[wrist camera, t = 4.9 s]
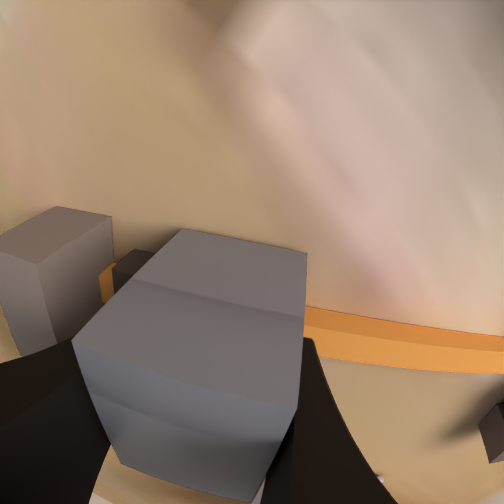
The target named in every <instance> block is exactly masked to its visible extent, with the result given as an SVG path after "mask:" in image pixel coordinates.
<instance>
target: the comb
mask: <svg viewBox="0 0 504 504" xmlns="http://www.w3.org/2000/svg"><path fill="white" fill-rule="evenodd" d="M478 426H479V429H480V432H481V436H482V439H483V442H484V446H485V449H486V453H487V456H488V460H489V464H490V463H495V462H499V461H503V460H504V403H502V404H496V406H495V407H494V408H493V409H492V410H491V411H490V413H489V414H488V415H487V416H486V417H485V418H484V419H483V420H482V421H481V423H480V424H479V425H478Z"/></svg>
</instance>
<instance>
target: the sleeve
mask: <svg viewBox="0 0 504 504" xmlns="http://www.w3.org/2000/svg"><path fill="white" fill-rule="evenodd" d="M306 277H307V253H304V252H299V251H294V250H289V249H284V248H279V247H274V246H269V245H264V244H259V243H254V242H249V241H244V240H239V239H234V238H229V237H224V236H219V235H214V234H208V233H203V232H198V231H193V230H188V229H181V230H180V231H179V232H178V233H177V234H176V235H175V236H174V237H173V238H172V239H171V240H170V241H169V242H168V243H167V244H165V245H164V246H163V247H162V248H161V249H160V250H159V251H158V252H157V253H156V254H155V255H154V256H153V257H152V258H151V259H150V260H149V261H148V262H147V263H146V264H145V265H144V266H143V267H142V268H141V269H140V270H139V271H138V272H137V273H136V274H135V275H134V276H133V277H132V278H131V279H130V280H129V281H128V282H127V283H126V284H125V285H124V286H123V287H122V288H121V289H120V290H119V291H118V292H117V293H116V294H115V295H114V296H113V297H112V298H111V299H110V300H109V301H108V302H107V303H106V304H105V305H104V306H103V307H102V308H101V309H100V310H99V311H98V312H97V313H96V314H95V315H94V317H93V318H92V319H91V320H90V321H89V322H88V323H87V324H86V325H85V326H84V327H83V328H82V329H81V330H80V332H79V333H78V334H77V335H76V336H75V337H74V338H73V339H72V340H71V341H72V345H73V348H74V351H75V354H76V357H77V361H78V364H79V367H80V369H81V372H82V375H83V378H84V381H85V384H86V386H87V389H88V392H89V394H90V397H91V399H92V402H93V404H94V407H95V409H96V411H97V414H98V416H99V418H100V421H101V423H102V425H103V428H104V430H105V432H106V434H107V436H108V438H109V440H110V442H111V445H112V447H113V449H114V451H115V453H116V455H117V457H118V458H119V460H120V462H121V464H123V465H126V466H128V467H130V468H133V469H135V470H138V471H140V472H143V473H145V474H148V475H151V476H153V477H156V478H159V479H162V480H165V481H168V482H171V483H174V484H177V485H180V486H183V487H186V488H190V489H193V490H197V491H200V492H204V493H208V494H212V495H216V496H220V497H224V498H229V499H234V500H238V501H243V502H249V503H251V501H252V499H253V497H254V495H255V493H256V492H257V490H258V488H259V486H260V484H261V482H262V480H263V478H264V477H265V475H266V473H267V471H268V469H269V467H270V465H271V463H272V461H273V459H274V457H275V455H276V453H277V451H278V449H279V447H280V444H281V442H282V440H283V438H284V436H285V434H286V432H287V429H288V427H289V425H290V423H291V421H292V418H293V416H294V414H295V412H296V409H297V405H298V395H299V384H300V372H301V360H302V347H303V333H304V317H305V299H306Z"/></svg>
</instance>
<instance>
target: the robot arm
mask: <svg viewBox="0 0 504 504" xmlns="http://www.w3.org/2000/svg"><path fill="white" fill-rule="evenodd" d="M76 335H77V334H76ZM76 335H74V336H72V337H70V338H68V339H66V340H64V341H62V342H60V343H58V344H55V345H53V346H51V347H48V348H46V349H43V350H41V351H38V352H36V353H33V354H30V355H27V356H24V357H21V358H18V359H14V360H11V361H7V362H4V363H0V504H89V500H90V497H91V494H92V491H93V488H94V485H95V482H96V480H97V477H98V474H99V472H100V469H101V467H102V464H103V461H104V459H105V457H106V454H107V452H108V450H109V447H110V445H111V442H110V440H109V438H108V436H107V434H106V432H105V430H104V428H103V425H102V423H101V421H100V418H99V416H98V414H97V411H96V409H95V407H94V404H93V402H92V399H91V397H90V394H89V392H88V389H87V386H86V384H85V381H84V378H83V375H82V372H81V369H80V367H79V364H78V361H77V357H76V354H75V351H74V348H73V345H72V341H71V340H72V339H73V338H74V337H75V336H76ZM383 482H384V478H383V477H382V476H376V475H375V473H374V472H373V470H372V469H371V467H370V466H369V464H368V463H367V461H366V460H365V458H364V456H363V455H362V453H361V452H360V450H359V448H358V446H357V445H356V443H355V441H354V439H353V438H352V436H351V434H350V432H349V430H348V428H347V426H346V424H345V422H344V420H343V418H342V416H341V414H340V412H339V409H338V407H337V405H336V403H335V400H334V398H333V395H332V393H331V390H330V388H329V385H328V383H327V380H326V378H325V375H324V372H323V369H322V366H321V363H320V360H319V357H318V354H317V350H316V346H315V342H314V341H313V339H312V338H307V337H303V347H302V360H301V372H300V384H299V395H298V405H297V409H296V412H295V414H294V416H293V418H292V421H291V423H290V425H289V427H288V429H287V432H286V434H285V436H284V438H283V440H282V442H281V444H280V447H279V449H278V451H277V453H276V455H275V457H274V459H273V461H272V463H271V465H270V467H269V469H268V471H267V473H266V477H265V479H264V481H263V483H262V485H261V487H260V489H259V491H258V492H257V494H256V496H255V498H254V499H253V501H252V503H251V504H398V503H397V502H396V501H395V500H394V499H393V497H392V496H391V495H390V493H389V492H388V491H387V489H386V488H385V487H384V485H383V484H382V483H383Z"/></svg>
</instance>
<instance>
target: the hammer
mask: <svg viewBox="0 0 504 504" xmlns="http://www.w3.org/2000/svg"><path fill="white" fill-rule="evenodd" d="M154 255H155V254H154V253H150V252H146V251H141V250H137V249H134V250H133V251H132V252H130V253H129V254H128V255H127V256H126V257H124V258H123V259H122V260H121V261H120V262H119V263H115V262H114V255H113V240H112V219H111V216H105V215H100V214H95V213H90V212H84V211H79V210H74V209H68V208H63V207H57V206H56V207H54V208H52V209H50V210H48V211H46V212H44V213H42V214H40V215H38V216H36V217H34V218H32V219H30V220H28V221H26V222H24V223H22V224H20V225H18V226H16V227H15V228H13V229H11V230H9V231H7V232H6V233H4V234H2V235H0V303H1V306H2V309H3V311H4V314H5V317H6V320H7V323H8V325H9V328H10V331H11V333H12V336H13V338H14V341H15V343H16V345H17V348H18V350H19V352H20V355H21V356H23V357H24V356H27V355H30V354H33V353H36V352H38V351H41V350H43V349H46V348H48V347H51V346H53V345H55V344H58V343H60V342H62V341H64V340H66V339H68V338H70V337H72V336H74V335H76V334H78V333H79V332H80V330H81V329H82V328H83V327H84V326H85V325H86V324H87V323H88V322H89V321H90V320H91V319H92V318H93V317H94V315H95V314H96V313H97V312H98V311H99V310H100V309H101V308H102V307H103V306H104V305H105V304H106V303H107V302H108V301H109V300H110V299H111V298H112V297H113V296H114V295H115V294H116V293H117V292H118V291H119V290H120V289H121V288H122V287H123V286H124V285H125V284H126V283H127V282H128V281H129V280H130V279H131V278H132V277H133V276H134V275H135V274H136V273H137V272H138V271H139V270H140V269H141V268H142V267H143V266H144V265H145V264H146V263H147V262H148V261H149V260H150V259H151V258H152V257H153V256H154ZM303 337H307V338H312V339H313V341H314V342H315V346H316V350H317V354H318V356H320V357H326V358H332V359H339V360H345V361H352V362H359V363H366V364H374V365H382V366H391V367H400V368H410V369H420V370H432V371H446V372H464V373H492V374H504V337H499V336H490V335H482V334H474V333H466V332H458V331H451V330H444V329H437V328H430V327H423V326H417V325H410V324H404V323H397V322H391V321H385V320H379V319H373V318H367V317H362V316H356V315H350V314H345V313H339V312H334V311H328V310H323V309H318V308H312V307H307V306H305V317H304V333H303Z"/></svg>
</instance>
